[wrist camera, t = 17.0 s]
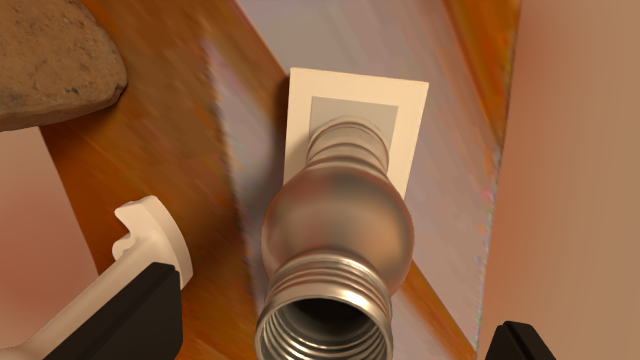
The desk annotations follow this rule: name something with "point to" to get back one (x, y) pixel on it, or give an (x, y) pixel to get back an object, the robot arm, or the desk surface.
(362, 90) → the board
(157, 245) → the joystick
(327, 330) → the plastic bottle
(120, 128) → the desk surface
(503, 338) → the robot arm
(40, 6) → the block
